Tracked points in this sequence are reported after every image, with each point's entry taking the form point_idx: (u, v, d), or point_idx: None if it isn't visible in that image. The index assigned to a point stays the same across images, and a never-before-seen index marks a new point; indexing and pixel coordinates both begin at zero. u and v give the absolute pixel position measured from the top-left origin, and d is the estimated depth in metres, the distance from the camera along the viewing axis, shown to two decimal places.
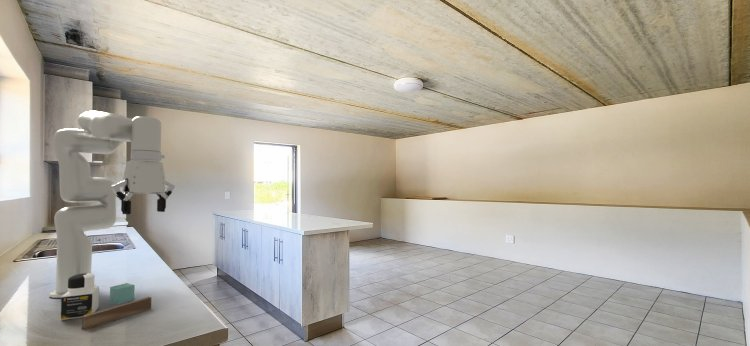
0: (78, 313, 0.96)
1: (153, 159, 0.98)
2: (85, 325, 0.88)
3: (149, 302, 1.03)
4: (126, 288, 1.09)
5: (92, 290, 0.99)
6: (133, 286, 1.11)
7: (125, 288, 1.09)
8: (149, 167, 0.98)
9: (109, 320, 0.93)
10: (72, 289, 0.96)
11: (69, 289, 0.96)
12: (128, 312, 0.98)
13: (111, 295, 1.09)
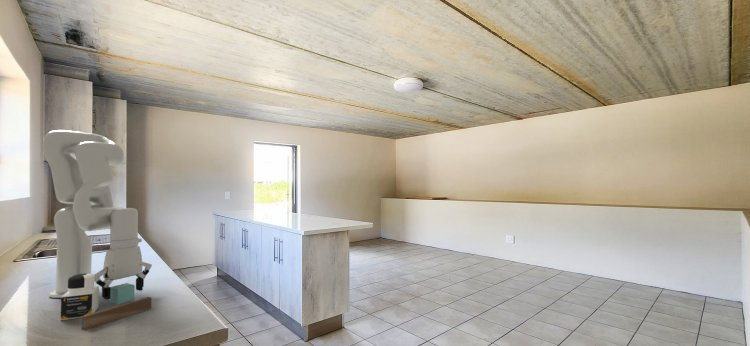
0: (78, 313, 0.96)
1: (130, 247, 1.09)
2: (85, 325, 0.88)
3: (149, 302, 1.03)
4: (126, 288, 1.09)
5: (92, 290, 0.99)
6: (133, 286, 1.11)
7: (125, 288, 1.09)
8: (127, 254, 1.09)
9: (109, 320, 0.93)
10: (72, 289, 0.96)
11: (69, 289, 0.96)
12: (128, 312, 0.98)
13: (111, 295, 1.09)
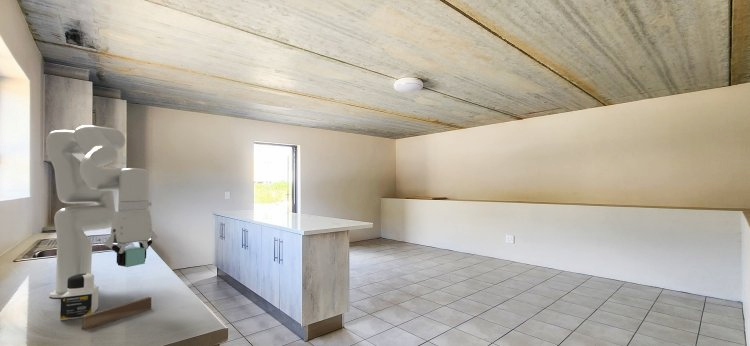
0: (77, 313, 0.96)
1: (140, 209, 1.02)
2: (85, 325, 0.88)
3: (149, 302, 1.03)
4: (136, 250, 1.02)
5: (92, 290, 0.99)
6: (143, 249, 1.04)
7: (135, 250, 1.02)
8: (136, 217, 1.02)
9: (109, 320, 0.93)
10: (72, 289, 0.96)
11: (68, 289, 0.96)
12: (128, 312, 0.98)
13: None
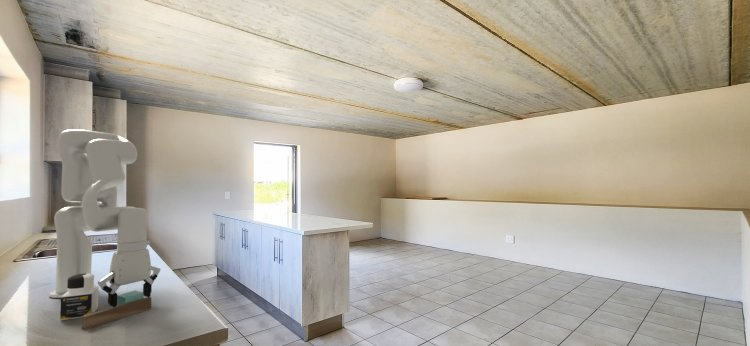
0: (77, 313, 0.96)
1: (139, 250, 1.02)
2: (85, 325, 0.88)
3: (149, 302, 1.03)
4: (134, 296, 1.01)
5: (92, 290, 0.99)
6: (142, 294, 1.03)
7: (133, 296, 1.01)
8: (135, 257, 1.02)
9: (109, 320, 0.93)
10: (72, 289, 0.96)
11: (69, 289, 0.96)
12: (128, 312, 0.98)
13: (118, 304, 1.01)
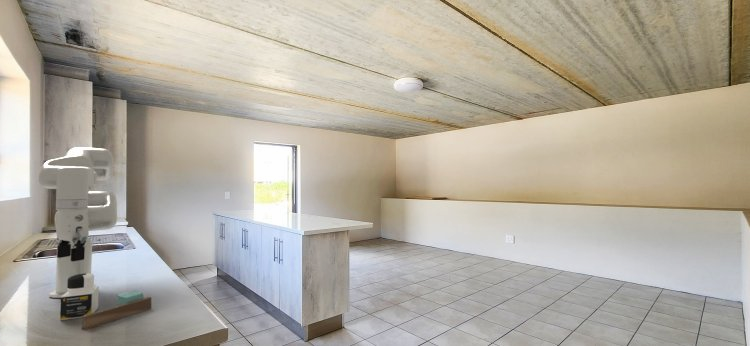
0: (77, 313, 0.96)
1: (57, 208, 1.00)
2: (85, 325, 0.88)
3: (149, 302, 1.03)
4: (134, 296, 1.01)
5: (92, 290, 0.99)
6: (142, 294, 1.03)
7: (133, 296, 1.01)
8: (61, 215, 1.02)
9: (109, 320, 0.93)
10: (72, 289, 0.96)
11: (69, 289, 0.96)
12: (128, 312, 0.98)
13: (118, 304, 1.01)
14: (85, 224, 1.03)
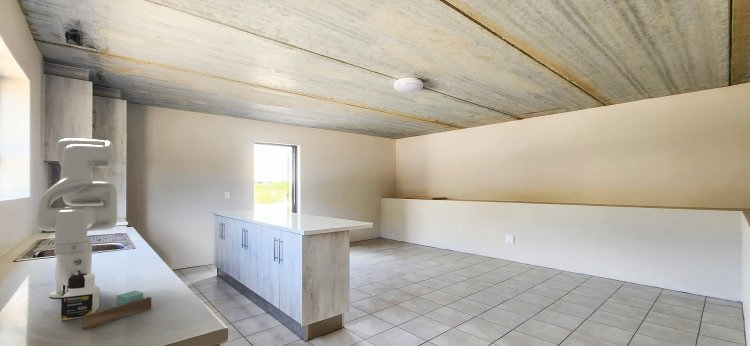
0: (78, 313, 0.96)
1: (55, 252, 0.99)
2: (85, 325, 0.88)
3: (149, 302, 1.03)
4: (134, 296, 1.01)
5: (92, 290, 0.99)
6: (142, 294, 1.03)
7: (133, 296, 1.01)
8: (59, 259, 1.01)
9: (109, 320, 0.93)
10: (72, 289, 0.96)
11: (69, 289, 0.96)
12: (128, 312, 0.98)
13: (118, 304, 1.01)
14: (83, 268, 1.02)
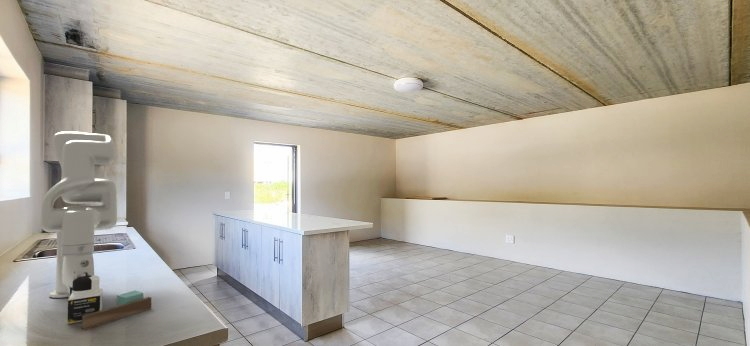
0: None
1: (62, 254, 0.97)
2: (85, 325, 0.88)
3: (149, 302, 1.03)
4: (134, 296, 1.01)
5: (98, 292, 0.97)
6: (142, 294, 1.03)
7: (133, 296, 1.01)
8: (66, 261, 0.99)
9: (109, 320, 0.93)
10: (79, 292, 0.94)
11: (75, 292, 0.94)
12: (128, 312, 0.98)
13: (118, 304, 1.01)
14: (91, 269, 1.00)
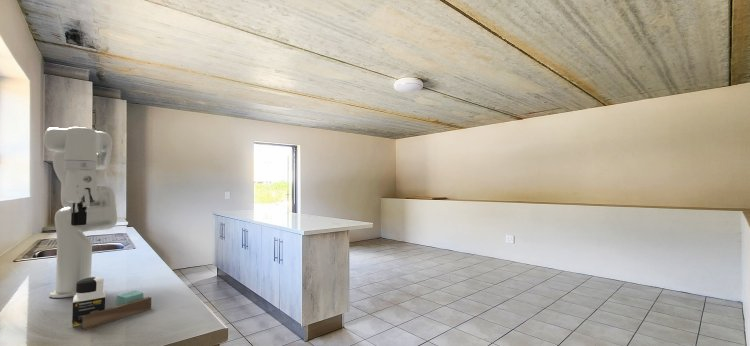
0: None
1: (65, 168, 0.98)
2: (85, 325, 0.88)
3: (149, 302, 1.03)
4: (134, 296, 1.01)
5: (103, 294, 0.96)
6: (142, 294, 1.03)
7: (133, 296, 1.01)
8: (69, 176, 0.99)
9: (109, 320, 0.93)
10: (83, 294, 0.92)
11: (79, 294, 0.92)
12: (128, 312, 0.98)
13: (118, 304, 1.01)
14: (94, 186, 1.01)
